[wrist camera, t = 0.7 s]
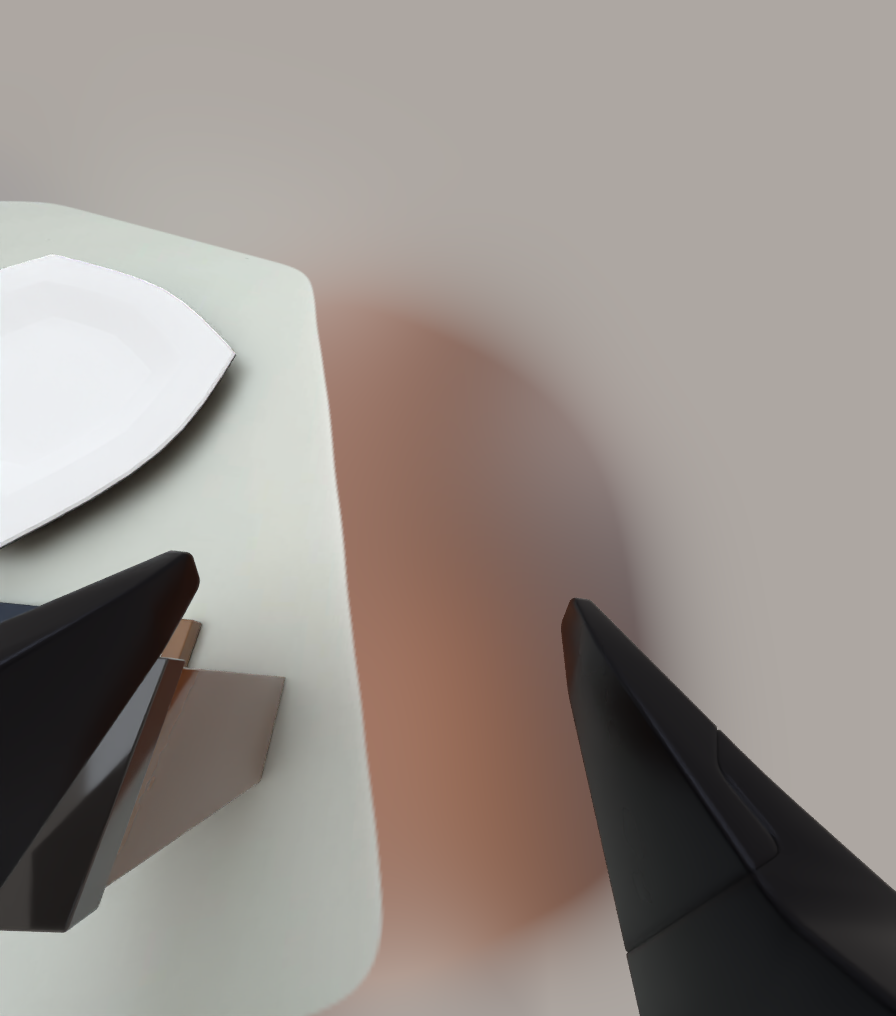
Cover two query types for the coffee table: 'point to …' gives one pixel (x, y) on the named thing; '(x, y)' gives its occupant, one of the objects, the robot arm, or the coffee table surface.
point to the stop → (182, 641)
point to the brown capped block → (144, 788)
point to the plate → (91, 383)
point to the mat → (13, 610)
